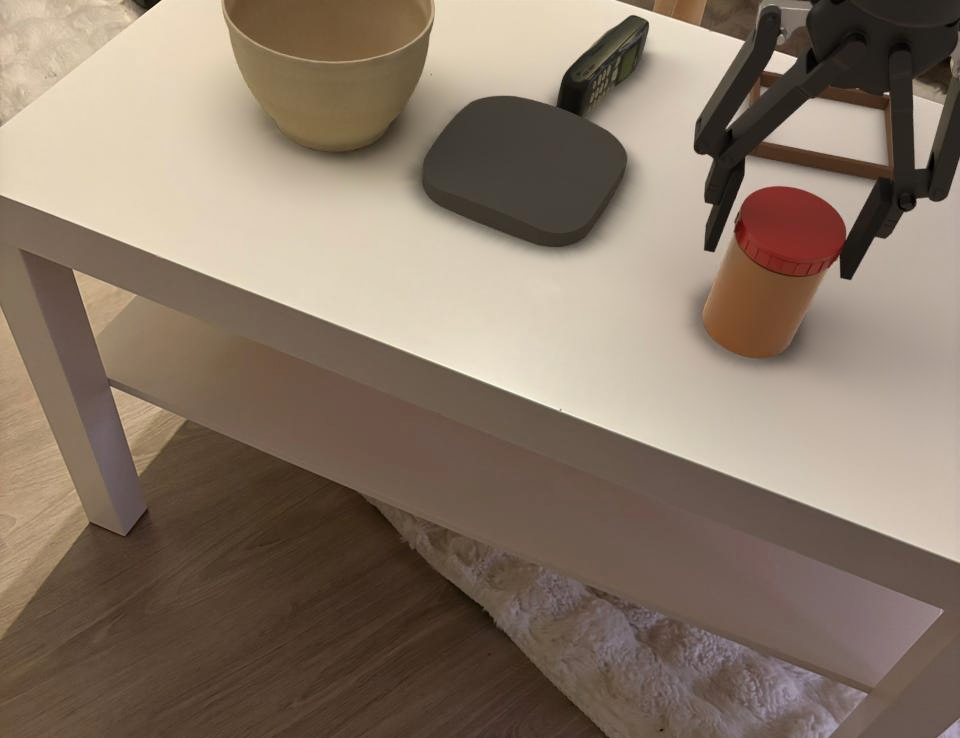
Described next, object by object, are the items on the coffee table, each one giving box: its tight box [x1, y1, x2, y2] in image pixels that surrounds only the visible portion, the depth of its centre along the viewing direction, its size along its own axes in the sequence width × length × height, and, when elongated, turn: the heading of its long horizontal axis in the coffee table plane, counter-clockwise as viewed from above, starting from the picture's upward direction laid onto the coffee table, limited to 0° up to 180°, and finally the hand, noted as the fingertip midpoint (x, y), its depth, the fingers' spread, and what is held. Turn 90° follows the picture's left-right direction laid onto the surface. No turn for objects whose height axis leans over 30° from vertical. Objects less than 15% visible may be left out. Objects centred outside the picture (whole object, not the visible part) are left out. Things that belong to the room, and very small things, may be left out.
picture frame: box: [747, 70, 894, 182], centre depth 91 cm, size 13×11×2 cm
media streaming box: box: [421, 95, 628, 248], centre depth 84 cm, size 15×15×3 cm
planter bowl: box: [221, 0, 436, 153], centre depth 82 cm, size 16×16×11 cm
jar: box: [701, 232, 830, 359], centre depth 74 cm, size 7×7×10 cm
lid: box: [732, 185, 847, 276], centre depth 70 cm, size 7×7×2 cm
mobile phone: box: [555, 14, 650, 119], centre depth 91 cm, size 5×3×15 cm
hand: (777, 252), depth 71 cm, fingers open, 9 cm apart
